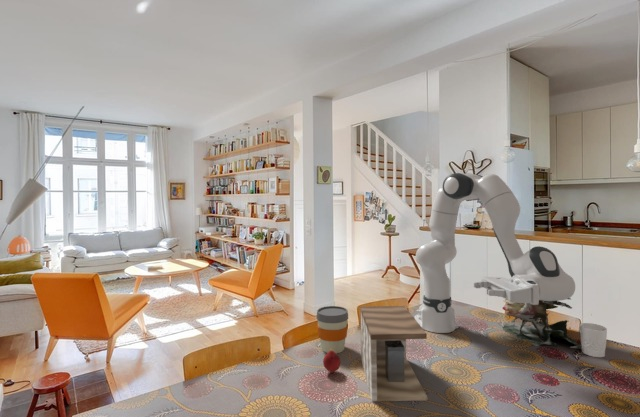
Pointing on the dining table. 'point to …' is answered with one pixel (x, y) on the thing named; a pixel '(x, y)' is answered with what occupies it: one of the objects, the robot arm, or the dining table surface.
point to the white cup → (593, 339)
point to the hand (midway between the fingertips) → (480, 288)
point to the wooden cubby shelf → (374, 333)
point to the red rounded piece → (331, 361)
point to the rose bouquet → (536, 322)
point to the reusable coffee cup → (332, 328)
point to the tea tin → (394, 361)
